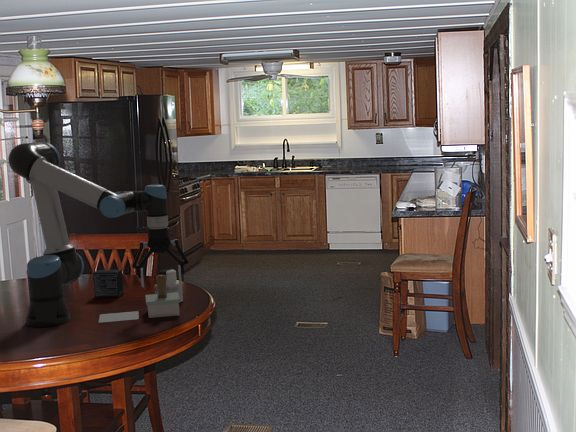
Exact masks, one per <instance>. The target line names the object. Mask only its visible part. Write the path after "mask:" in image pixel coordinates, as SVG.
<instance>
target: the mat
mask: <svg viewBox="0 0 576 432" xmlns="http://www.w3.org/2000/svg"><path fill="white" fill-rule="evenodd" d="M139 315H140V314H139V310H136V311H126V312H125V311H124V312H112V313H111V312H110V313H102V314H99V318H98V323H101V324H102V323H111V322H112V323H113V322H123V321H134V320H139V319H140V317H139Z"/></svg>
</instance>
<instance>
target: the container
mask: <svg viewBox="0 0 576 432" xmlns="http://www.w3.org/2000/svg"><path fill="white" fill-rule="evenodd" d="M158 275H166V288H167V293H174V292H178V294H179V298H180V303H182V302H183V301H184V297H183V295H184V293H183V283H182V284H179V281H178V279H177V271H176V270H175V269H172V268H166V269H161V270H160V271H159V272H158ZM154 294H157V283H156V284H154Z"/></svg>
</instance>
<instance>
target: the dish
mask: <svg viewBox="0 0 576 432" xmlns="http://www.w3.org/2000/svg"><path fill="white" fill-rule="evenodd" d="M147 314H148V316H147V317H148V318H149V319H151V318H163V317H172V316H173V317H174V316H178V317H179V316H180V303H169V304H158V305H147Z"/></svg>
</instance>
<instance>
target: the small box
mask: <svg viewBox="0 0 576 432" xmlns="http://www.w3.org/2000/svg"><path fill="white" fill-rule="evenodd" d="M92 275H93V276H92V277H93V292H94V298H95V299H96V298H98V299H100V298H101V299H102V298H105V299H106V298H120V297H121V296H122V295H124V293H125V292H124V282H123V280H124V279H123V269H102V270H101V269H100V270H99V269H98V270H96V271H94V272H92Z"/></svg>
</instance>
